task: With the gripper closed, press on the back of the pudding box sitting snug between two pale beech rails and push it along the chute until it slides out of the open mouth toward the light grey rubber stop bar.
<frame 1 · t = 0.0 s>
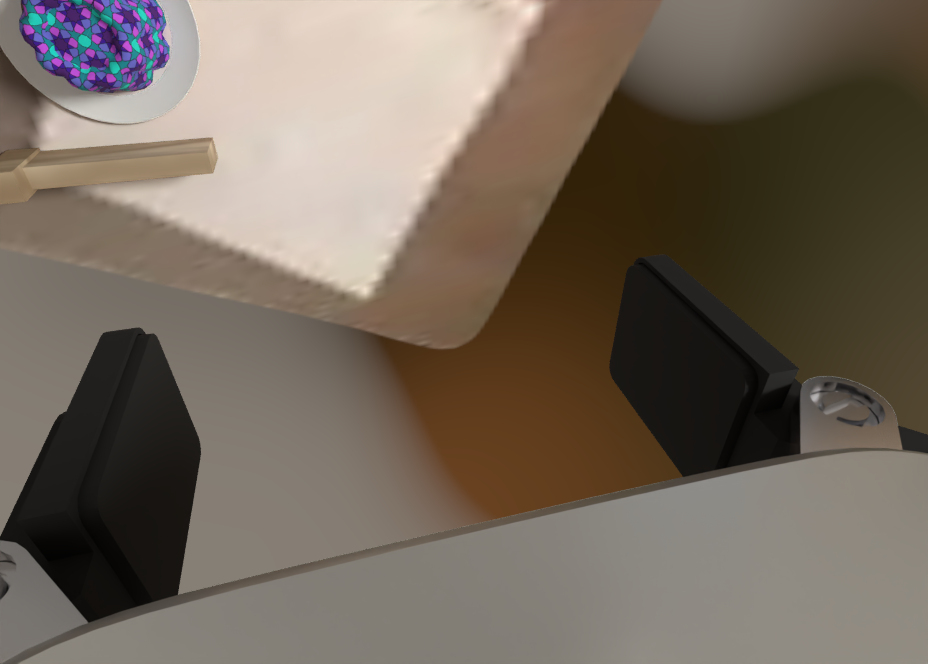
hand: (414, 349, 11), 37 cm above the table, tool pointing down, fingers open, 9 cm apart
pudding: (102, 26, 37), on the table
chute: (82, 27, 36), on the table
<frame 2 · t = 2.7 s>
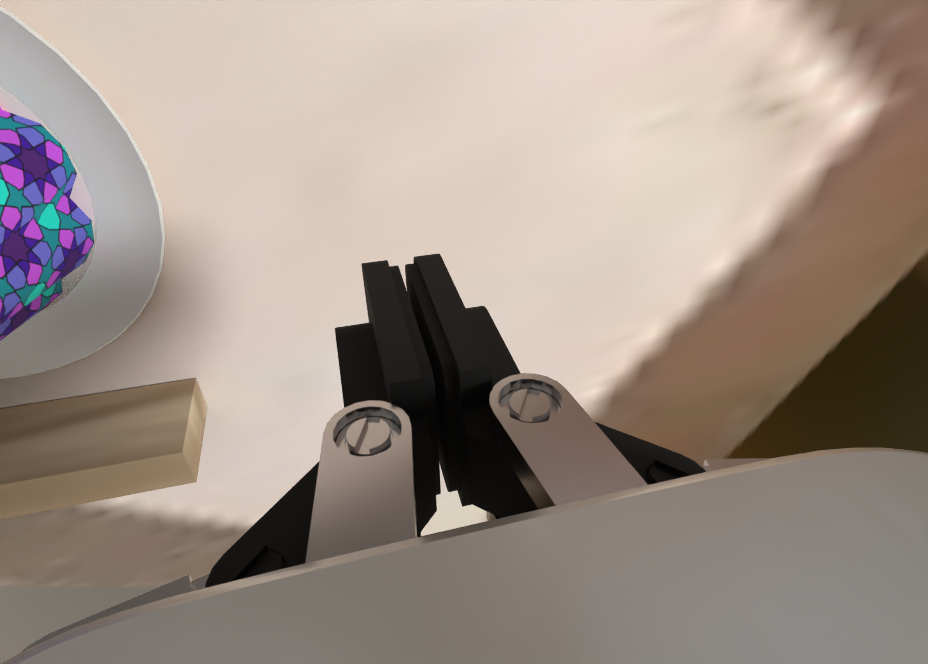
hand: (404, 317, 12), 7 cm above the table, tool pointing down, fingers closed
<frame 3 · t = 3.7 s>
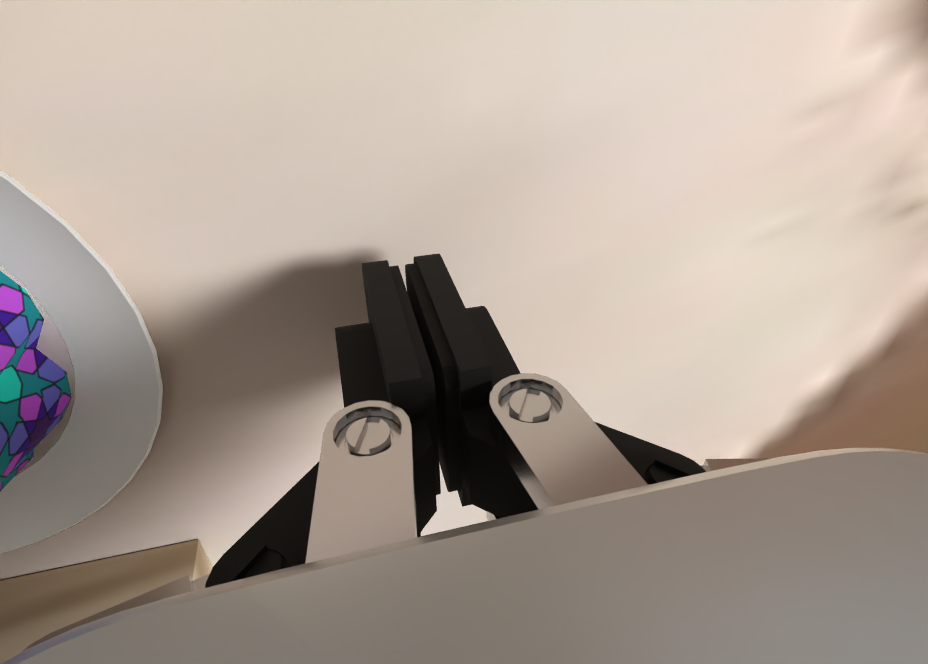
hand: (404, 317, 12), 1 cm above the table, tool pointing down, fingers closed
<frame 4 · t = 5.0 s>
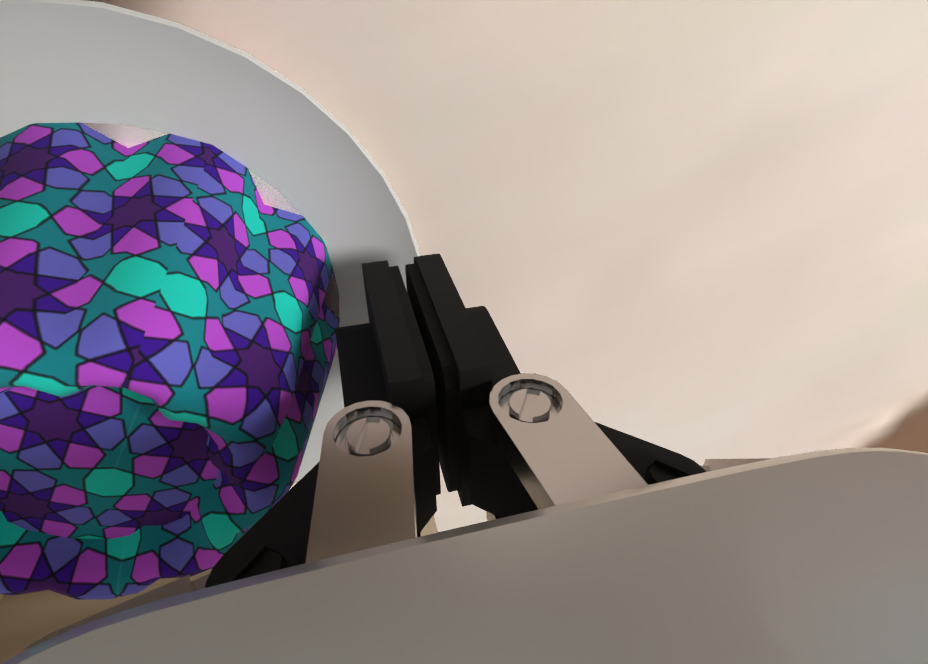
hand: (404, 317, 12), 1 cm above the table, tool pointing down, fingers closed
pudding: (152, 303, 12), on the table
chute: (140, 317, 12), on the table
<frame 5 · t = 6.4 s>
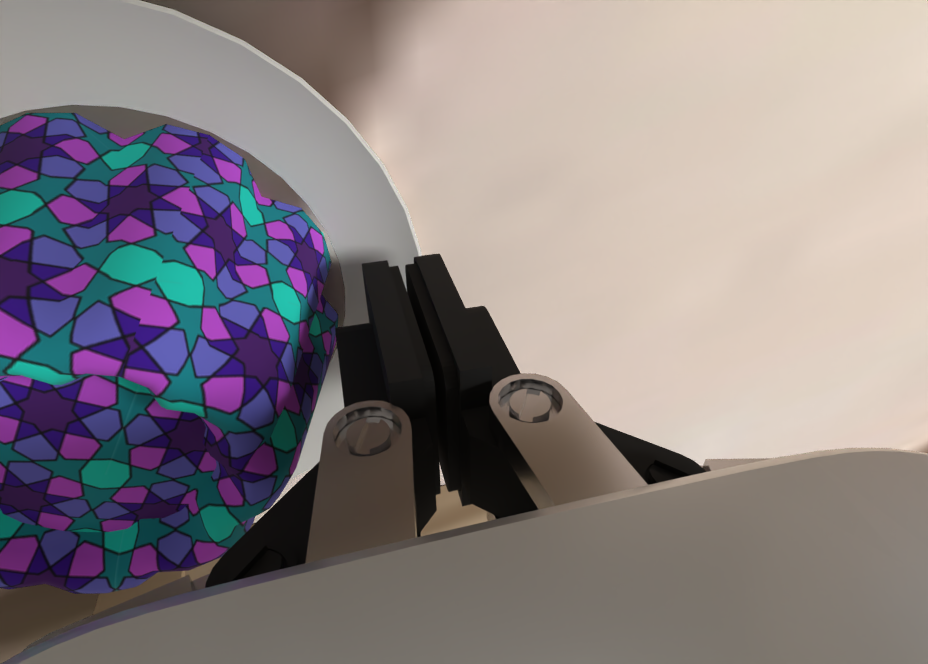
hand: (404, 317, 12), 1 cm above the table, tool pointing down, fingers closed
pudding: (150, 297, 12), on the table, touching gripper
chute: (352, 292, 13), on the table
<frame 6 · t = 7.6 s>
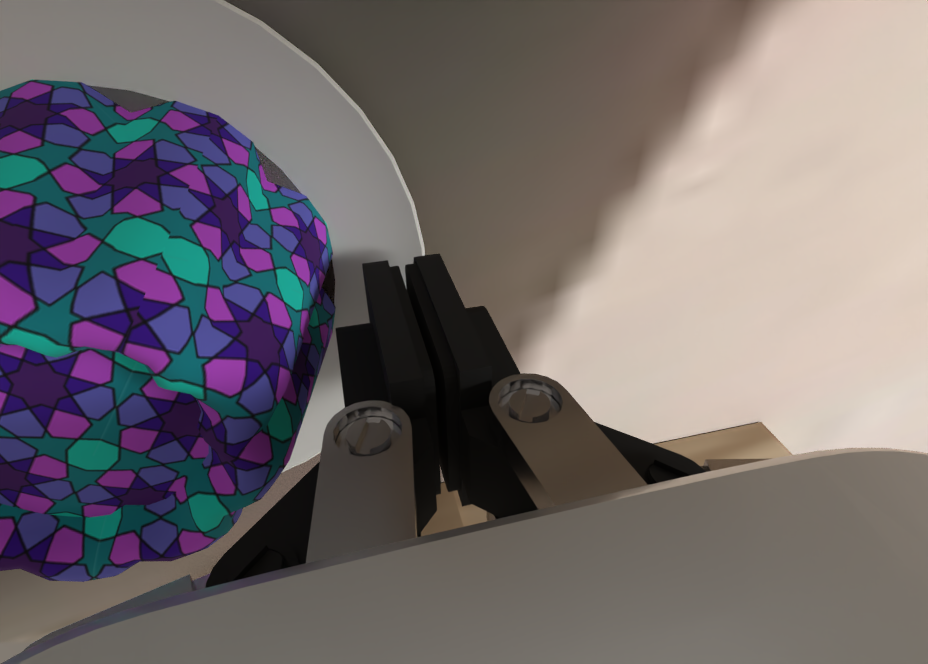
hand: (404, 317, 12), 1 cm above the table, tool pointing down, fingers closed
pudding: (143, 279, 12), on the table, touching gripper, stop bar
chute: (651, 256, 15), on the table
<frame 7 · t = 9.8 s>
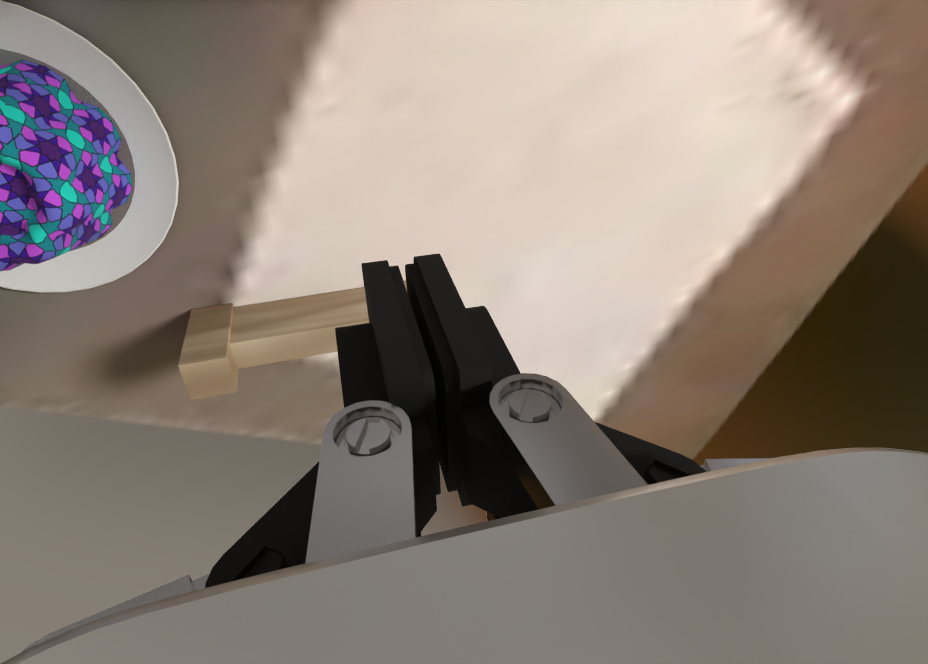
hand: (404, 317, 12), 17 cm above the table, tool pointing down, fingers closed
pudding: (24, 156, 24), on the table
chute: (316, 151, 26), on the table
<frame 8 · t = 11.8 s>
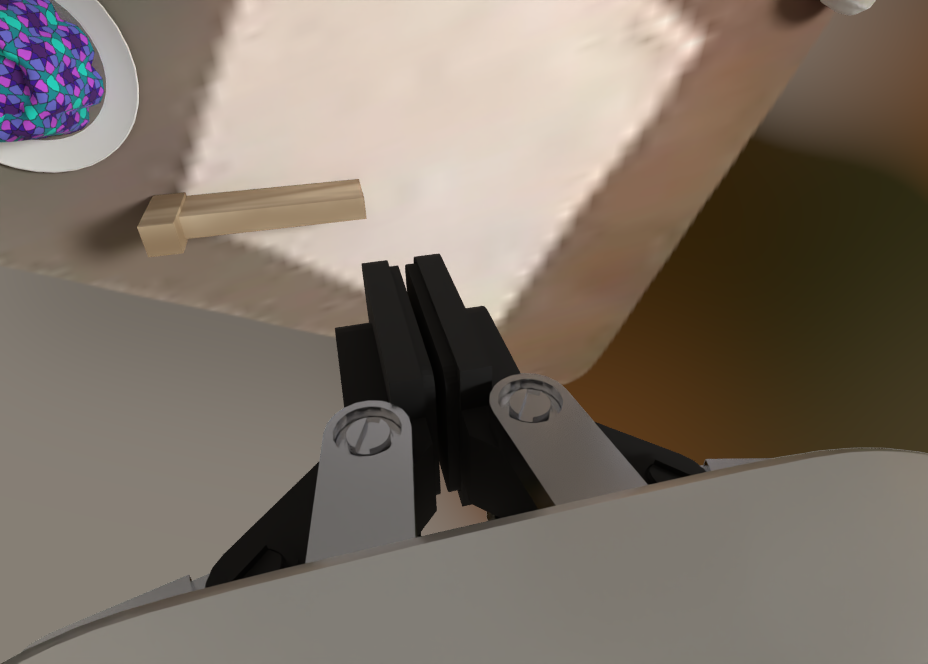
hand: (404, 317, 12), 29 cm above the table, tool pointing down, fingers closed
pudding: (22, 63, 32), on the table
chute: (245, 69, 34), on the table
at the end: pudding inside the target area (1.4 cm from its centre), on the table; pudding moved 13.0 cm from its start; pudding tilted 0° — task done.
